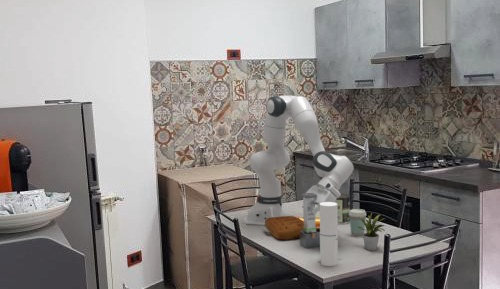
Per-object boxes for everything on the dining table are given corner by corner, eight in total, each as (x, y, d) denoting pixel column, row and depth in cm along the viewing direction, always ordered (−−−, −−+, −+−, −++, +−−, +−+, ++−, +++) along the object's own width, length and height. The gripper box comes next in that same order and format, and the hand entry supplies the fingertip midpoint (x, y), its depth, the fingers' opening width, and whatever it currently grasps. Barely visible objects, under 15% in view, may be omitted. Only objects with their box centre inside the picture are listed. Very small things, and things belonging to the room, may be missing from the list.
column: (306, 236, 224) (306, 195, 222) (301, 232, 229) (301, 193, 227) (317, 234, 226) (316, 194, 223) (312, 231, 230) (311, 192, 228)
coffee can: (348, 218, 275) (348, 193, 274) (351, 223, 265) (351, 197, 263) (329, 219, 276) (329, 193, 274) (332, 224, 265) (331, 198, 264)
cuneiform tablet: (263, 231, 255) (263, 216, 254) (295, 228, 260) (294, 213, 259) (277, 244, 234) (277, 228, 233) (312, 240, 239) (311, 224, 238)
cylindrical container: (316, 262, 209) (316, 203, 206) (329, 259, 213) (329, 201, 210) (328, 267, 203) (327, 206, 200) (341, 263, 207) (341, 204, 204)
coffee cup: (366, 237, 241) (366, 213, 239) (348, 237, 243) (348, 212, 241) (366, 232, 249) (366, 208, 248) (348, 232, 251) (348, 208, 249)
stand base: (303, 253, 220) (302, 236, 220) (292, 245, 232) (292, 228, 231) (327, 250, 224) (327, 232, 223) (316, 242, 235) (315, 226, 235)
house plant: (356, 254, 218) (356, 217, 216) (349, 244, 231) (349, 209, 230) (389, 253, 218) (389, 216, 216) (380, 243, 232) (380, 208, 230)
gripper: (313, 179, 236) (294, 201, 235) (333, 186, 217) (312, 211, 215) (321, 187, 238) (303, 209, 237) (342, 196, 219) (322, 220, 217)
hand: (308, 210), depth 226 cm, fingers open, 8 cm apart
